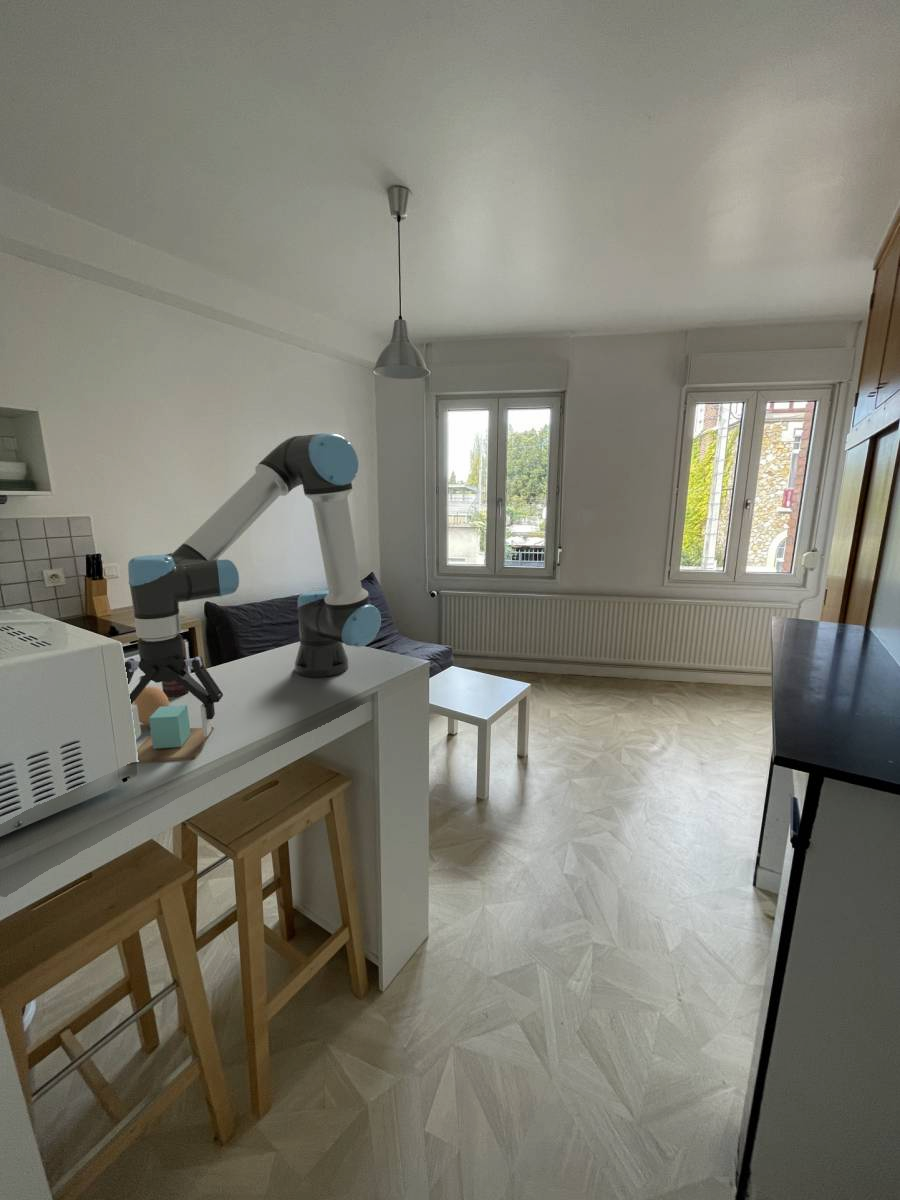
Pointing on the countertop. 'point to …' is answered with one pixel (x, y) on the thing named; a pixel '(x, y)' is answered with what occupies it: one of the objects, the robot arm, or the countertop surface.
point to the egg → (150, 703)
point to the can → (175, 683)
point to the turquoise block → (169, 726)
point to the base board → (173, 748)
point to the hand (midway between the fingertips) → (172, 735)
